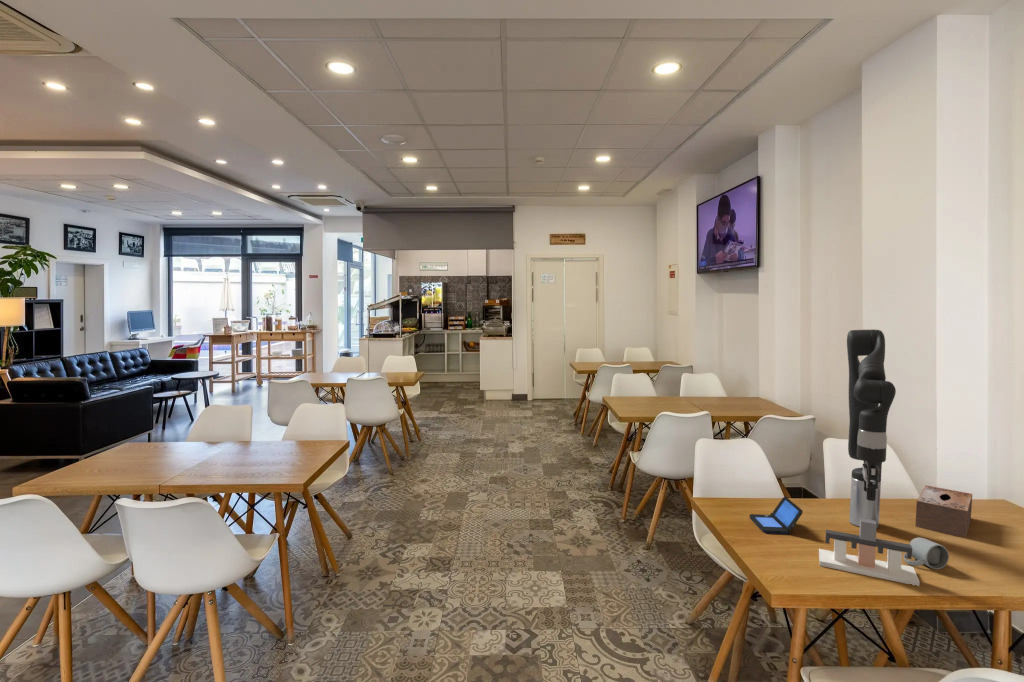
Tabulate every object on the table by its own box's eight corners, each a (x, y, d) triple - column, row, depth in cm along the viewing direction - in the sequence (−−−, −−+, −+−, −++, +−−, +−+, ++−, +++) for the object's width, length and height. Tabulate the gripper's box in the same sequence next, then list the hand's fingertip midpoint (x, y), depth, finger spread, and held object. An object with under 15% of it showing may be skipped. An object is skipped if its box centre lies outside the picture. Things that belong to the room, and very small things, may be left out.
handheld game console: (748, 517, 205) (749, 494, 205) (784, 519, 204) (785, 495, 204) (764, 534, 190) (765, 508, 189) (802, 536, 189) (804, 510, 188)
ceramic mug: (926, 557, 173) (926, 534, 172) (949, 569, 165) (950, 544, 164) (896, 558, 172) (896, 535, 171) (917, 571, 164) (918, 546, 163)
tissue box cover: (924, 509, 217) (925, 485, 216) (970, 519, 207) (972, 493, 206) (915, 527, 198) (916, 500, 197) (966, 538, 188) (967, 511, 188)
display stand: (818, 553, 175) (819, 529, 174) (912, 571, 163) (914, 546, 162) (819, 565, 166) (820, 540, 165) (919, 586, 154) (920, 559, 153)
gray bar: (825, 540, 171) (826, 512, 170) (909, 555, 160) (911, 526, 160) (825, 543, 168) (827, 515, 167) (911, 559, 157) (913, 530, 157)
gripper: (855, 437, 172) (853, 487, 173) (859, 448, 159) (857, 501, 160) (883, 440, 168) (880, 490, 169) (889, 451, 156) (887, 505, 157)
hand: (869, 495), depth 165 cm, fingers open, 8 cm apart
